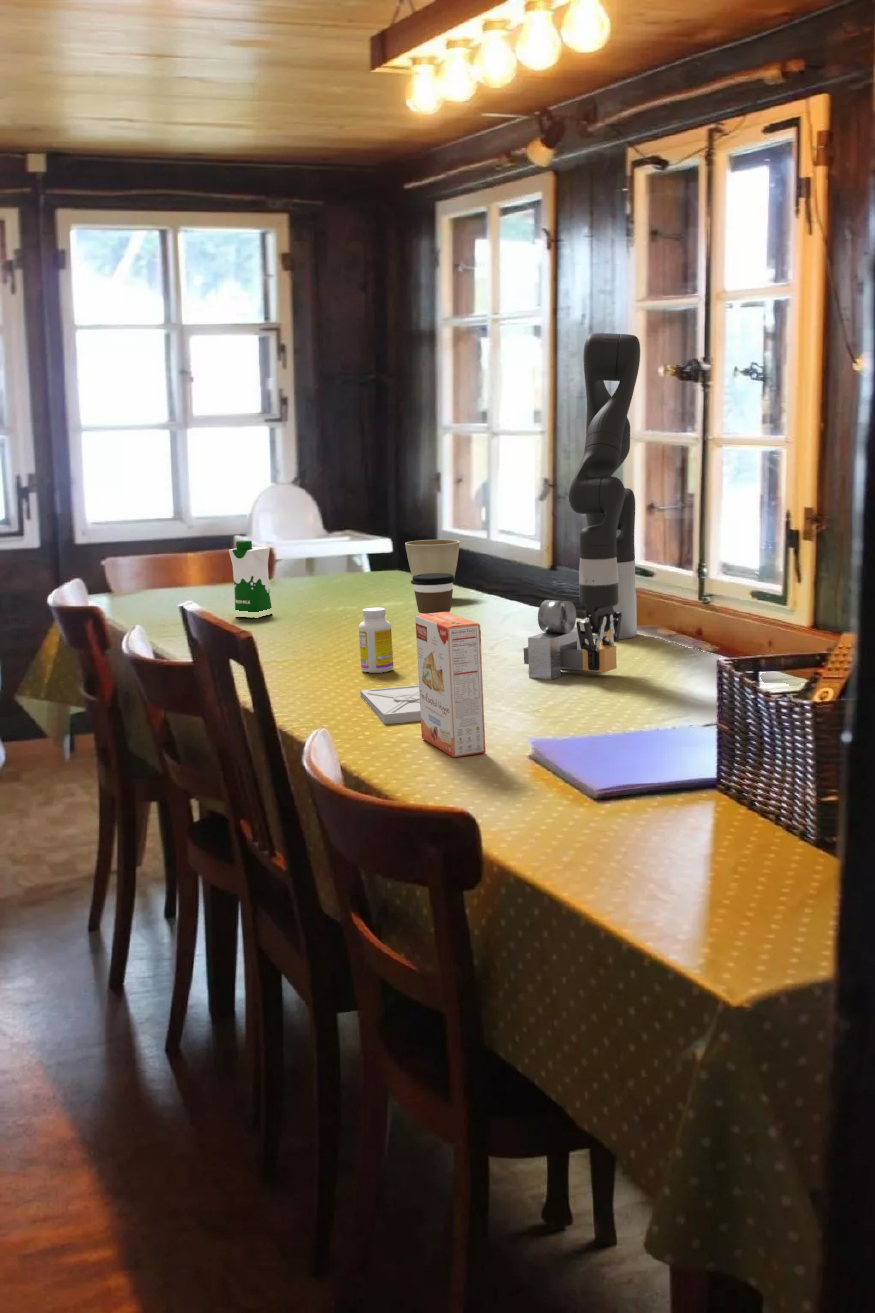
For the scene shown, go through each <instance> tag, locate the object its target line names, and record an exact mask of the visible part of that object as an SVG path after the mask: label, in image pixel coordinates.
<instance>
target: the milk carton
mask: <svg viewBox="0 0 875 1313" xmlns="http://www.w3.org/2000/svg"><path fill="white" fill-rule="evenodd" d="M235 543H236V545H235V548H232V549H228V553H229V556H230V560H231V561H230V562H231V563H232V565H231V566H232V578H233V589H234V611H235V610H239V611H248V612H259V611H263V610H267V609H270V608H272V602H271V601H272V600H271V595H270V592H271V591H270V580H269V557H270V550H271V547H270V546H269V547H267V546H253V544H252V543H253V542H252V540H237V541H236V542H235ZM272 609H273V608H272Z"/></svg>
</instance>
